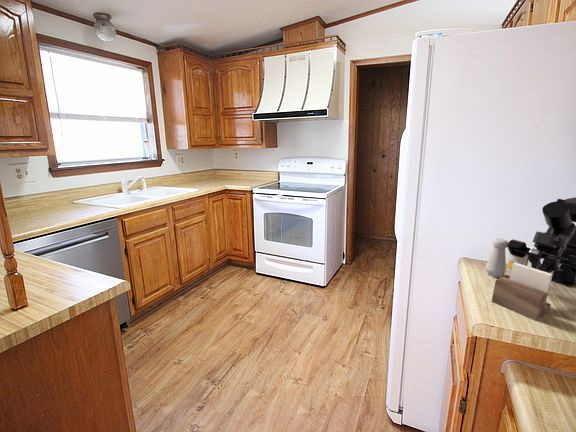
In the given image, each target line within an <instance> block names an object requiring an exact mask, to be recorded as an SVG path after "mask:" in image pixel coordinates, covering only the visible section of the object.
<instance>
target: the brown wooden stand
mask: <svg viewBox="0 0 576 432" xmlns="http://www.w3.org/2000/svg"><path fill="white" fill-rule="evenodd" d="M548 294H549V292H548V293H547V292H544V291H542V290H539V289H536V288H533V287H530V286H528V285H525V284H522V283H519V282H516V281H514V280H511V279H510V278H508V277H505V276H501V277H500V278H497V279H495V281H494V287H493V293H492V298H491V302H492V303H493V304H496V305H498V306H501V307H503V308H506V309H507V310H510V311H513V312H514V313H517V314H520V315H522V316H523V317H526V318H527V319H528V318H529V319H531V320H533V321H537V320H539V319H540V318H541V317H543V316H544V315H546V314H547V313H548V312H549V311H550V309H551V305H552V304H550V303H548V302H547V298H548V296H549V295H548Z"/></svg>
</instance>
